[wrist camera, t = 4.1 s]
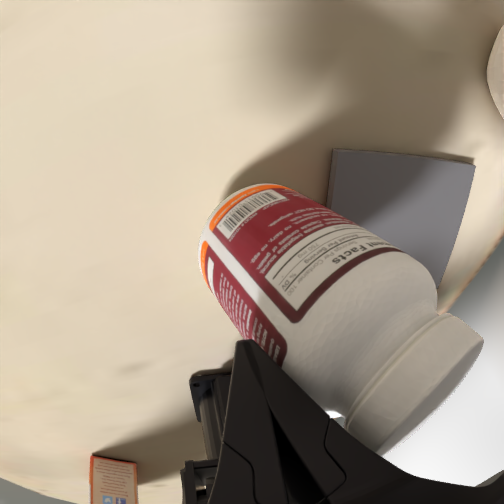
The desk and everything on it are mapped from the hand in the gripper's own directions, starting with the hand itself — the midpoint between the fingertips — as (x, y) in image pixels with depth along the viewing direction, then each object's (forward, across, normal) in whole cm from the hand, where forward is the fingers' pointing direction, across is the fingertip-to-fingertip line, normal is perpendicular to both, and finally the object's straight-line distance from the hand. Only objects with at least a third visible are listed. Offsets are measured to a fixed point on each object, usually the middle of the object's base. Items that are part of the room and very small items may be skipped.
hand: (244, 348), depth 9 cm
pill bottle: (+7, -2, +1) cm, 8 cm away
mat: (+8, -12, +2) cm, 14 cm away
